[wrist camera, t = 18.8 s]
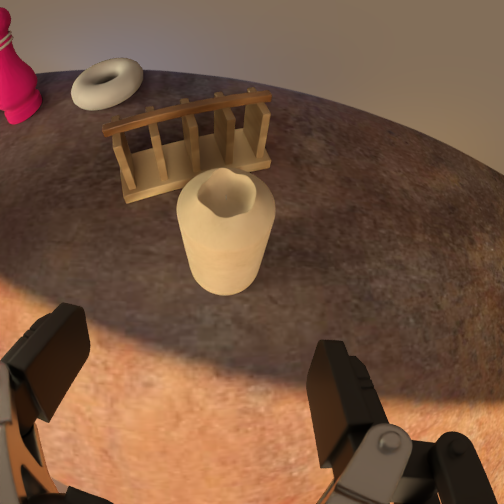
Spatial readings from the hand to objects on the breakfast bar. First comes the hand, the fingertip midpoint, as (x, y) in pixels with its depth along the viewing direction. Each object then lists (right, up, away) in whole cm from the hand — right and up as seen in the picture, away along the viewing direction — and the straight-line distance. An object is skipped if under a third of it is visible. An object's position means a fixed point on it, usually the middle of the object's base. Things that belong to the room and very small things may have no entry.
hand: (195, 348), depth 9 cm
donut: (-17, +24, +23) cm, 38 cm away
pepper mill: (-32, +24, +22) cm, 45 cm away
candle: (0, +2, +15) cm, 15 cm away
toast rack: (-4, +12, +19) cm, 22 cm away
